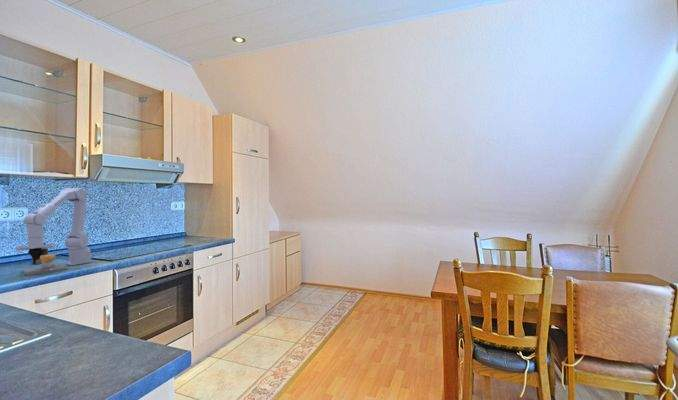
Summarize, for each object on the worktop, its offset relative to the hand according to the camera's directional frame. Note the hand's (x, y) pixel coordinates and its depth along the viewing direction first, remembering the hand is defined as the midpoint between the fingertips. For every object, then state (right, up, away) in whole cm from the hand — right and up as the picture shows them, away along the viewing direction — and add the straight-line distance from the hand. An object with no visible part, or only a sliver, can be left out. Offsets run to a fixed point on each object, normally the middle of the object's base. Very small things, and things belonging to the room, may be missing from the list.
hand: (36, 263), depth 157 cm
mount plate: (-2, -5, +6) cm, 8 cm away
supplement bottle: (-22, -5, +24) cm, 33 cm away
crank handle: (0, 0, +4) cm, 4 cm away
